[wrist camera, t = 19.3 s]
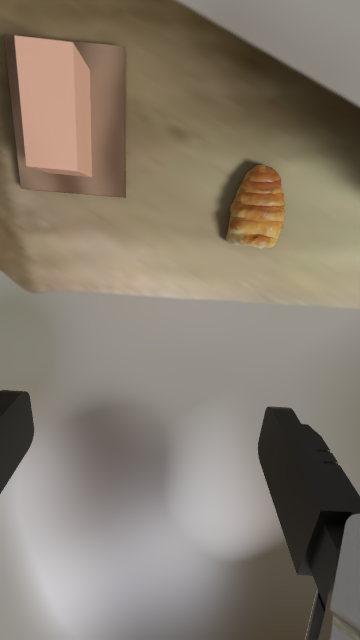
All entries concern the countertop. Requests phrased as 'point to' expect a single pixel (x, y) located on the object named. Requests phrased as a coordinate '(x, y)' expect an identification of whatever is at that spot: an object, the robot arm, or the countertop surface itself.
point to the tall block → (54, 106)
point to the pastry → (257, 209)
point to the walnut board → (105, 124)
